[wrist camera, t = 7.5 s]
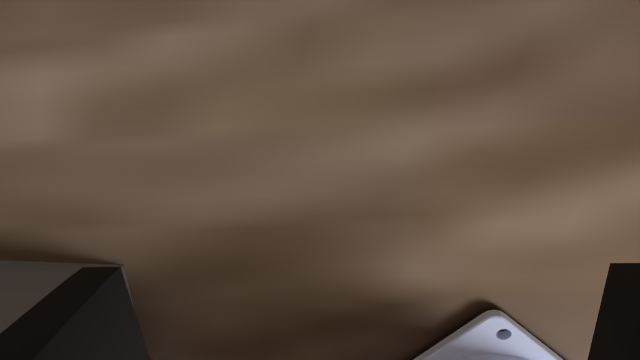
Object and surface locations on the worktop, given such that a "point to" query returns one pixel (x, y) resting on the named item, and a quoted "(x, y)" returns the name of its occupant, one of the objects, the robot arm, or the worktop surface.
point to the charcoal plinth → (33, 284)
